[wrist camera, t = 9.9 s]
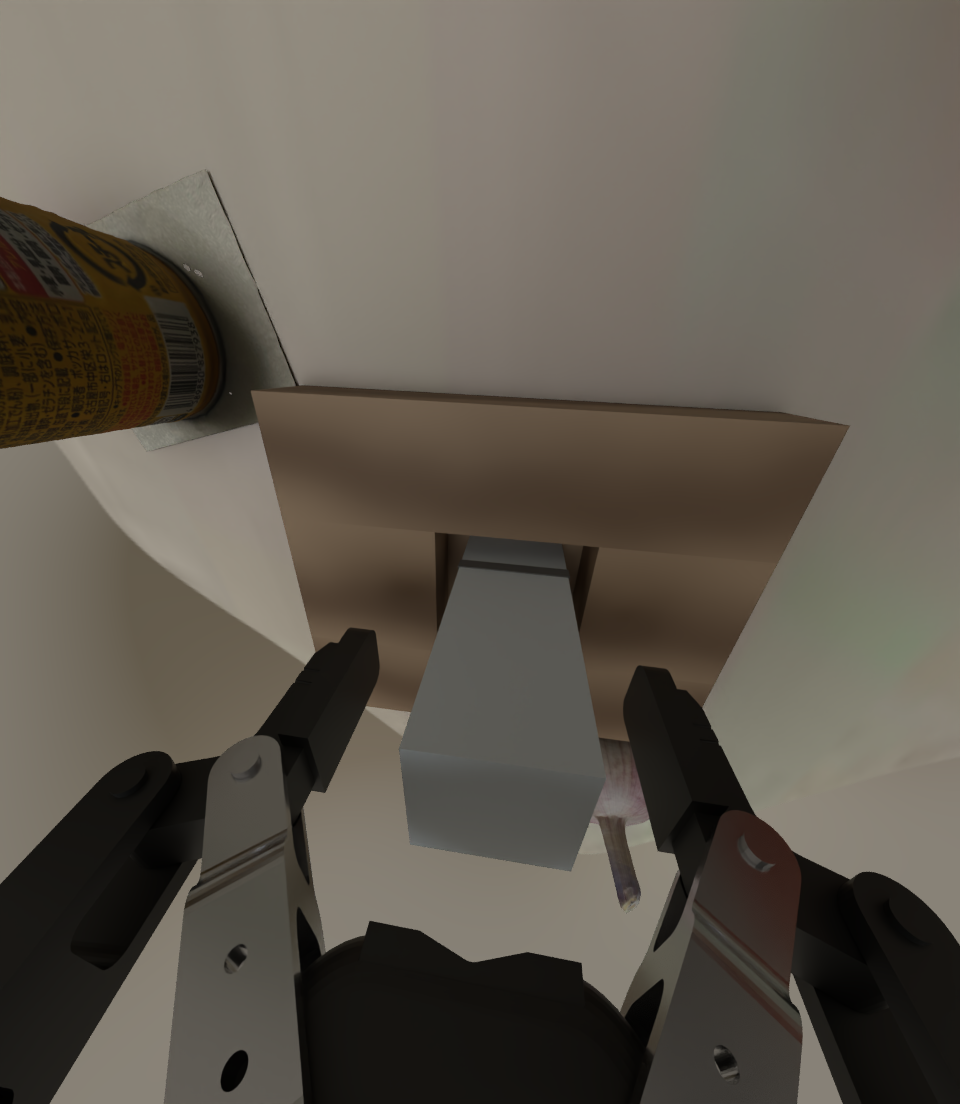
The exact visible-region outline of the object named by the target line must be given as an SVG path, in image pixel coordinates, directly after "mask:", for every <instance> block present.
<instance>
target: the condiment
mask: <svg viewBox="0 0 960 1104" xmlns="http://www.w3.org/2000/svg"><path fill="white" fill-rule="evenodd" d="M183 264H186V265H188V266H189V267H190V270H191V271H187V270H186V269H185V268H184V267H183ZM194 269H197V270H199V271H201V272H202V274H203V278H202V277H200V276H198V275H196V274H195V272H194ZM292 386H296V385H295V381H294V379H293V377H292V375H291V372H290V370H289V367H288V364H287V362H286V359H285V357H284V354H283V352H282V350H281V348H280V345H279V342H278V339H277V336H276V334H275V331H274V329H273V326H272V324H271V322H270V319H269V317H268V314H267V312H266V310H265V308H264V305H263V303H262V301H261V298H260V296H259V293H258V289H257V286H256V282H255V281H254V279H253V277H252V276H251V274H250V271H249V269H248V268H247V266H246V263H245V261H244V259H243V256H242V254H241V252H240V249H239V247H238V244H237V241H236V238H235V236H234V233H233V231H232V228H231V226H230V223H229V221H228V219H227V217H226V216H225V214H224V211H223V209H222V207H221V204H220V202H219V200H218V197H217V195H216V193H215V190H214V188H213V185H212V183H211V181H210V178H209V176H208V173H207V171H206V169H204V170H202V171H200V172H198V173H196V174H194V175H190V176H187V177H185V178H183V179H180V180H179V181H177V182H176V183H174V184H173V185H170V186H168V187H165V188H161V189H158V190H156V191H154V192H152V193H151V194H150V195H149V196H146V197H144V198H142V199H139V200H136V201H133V202H130V203H129V204H128V205H127V206H125V207H122V208H119V209H118V210H116V211H115V212H112V213H111V214H110V215H108V216H106V217H104V218H102V219H100V220H98V221H96V222H94V223H91V224H89V225H87V226H83V225H81V224H78V223H75V222H73V221H70V220H68V219H65V218H62V217H60V216H58V215H56V214H54V213H52V212H48V211H44V210H41V209H39V208H37V207H35V206H31V205H24V204H20V203H17V202H13V201H10V200H7V199H5V198H2V197H0V449H2V448H8V447H16V446H21V445H26V444H27V445H28V444H35V443H41V442H47V441H53V440H60V439H66V438H72V437H79V436H87V435H94V434H101V433H106V432H111V431H116V430H123V429H130V428H132V430H133V432H134V433H135V435H136V437H137V438H138V440H139V441H140V443H141V444H142V445H143V447H144V448H145V450H146V451H151V450H154V449H158V448H162V447H166V446H170V445H173V444H177V443H181V442H184V441H189V440H193V439H196V438H200V437H204V436H208V435H212V434H215V433H219V432H224V431H227V430H230V429H234V428H237V427H241V426H246V425H249V424H254V423H257V422H258V418H257V414H256V410H255V406H254V402H253V398H252V394H251V391H252V390H262V389H272V388H282V387H292ZM229 392H231V393H232V395H230V394H229Z"/></svg>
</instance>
